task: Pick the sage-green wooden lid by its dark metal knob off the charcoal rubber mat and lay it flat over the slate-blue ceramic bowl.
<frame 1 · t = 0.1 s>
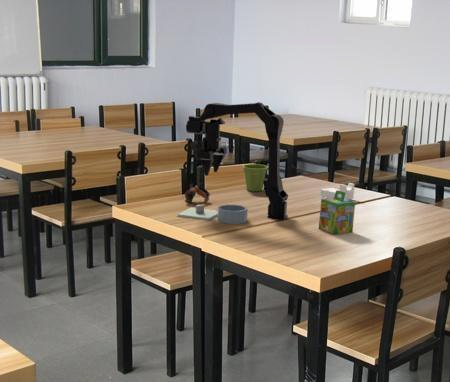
hand: (211, 173, 284), 15 cm above the table, fingers open, 9 cm apart
bowl: (232, 220, 269), on the table
bracket: (336, 199, 317), on the table
mat: (199, 215, 276), on the table
plant pot: (254, 190, 328), on the table
brown arch: (195, 203, 297), on the table
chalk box: (335, 231, 260), on the table
lid: (199, 214, 275), resting on mat
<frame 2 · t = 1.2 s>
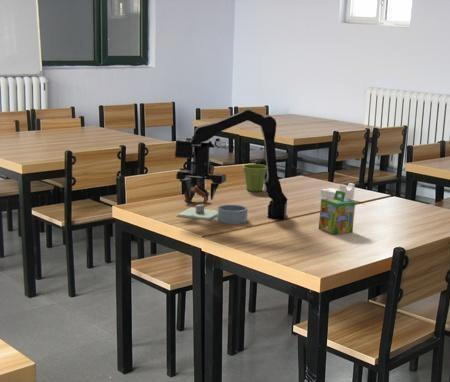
hand: (200, 198, 274), 7 cm above the table, fingers open, 9 cm apart
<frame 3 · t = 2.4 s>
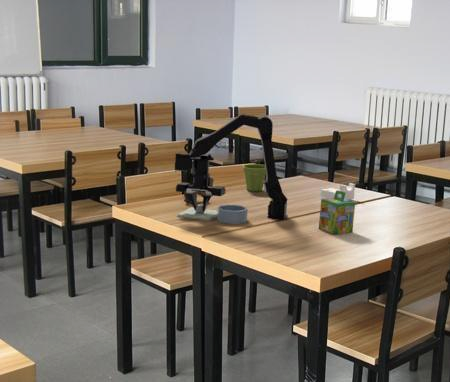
hand: (199, 210, 275), 2 cm above the table, fingers closed on lid, 3 cm apart
lid: (199, 214, 275), resting on mat, touching gripper
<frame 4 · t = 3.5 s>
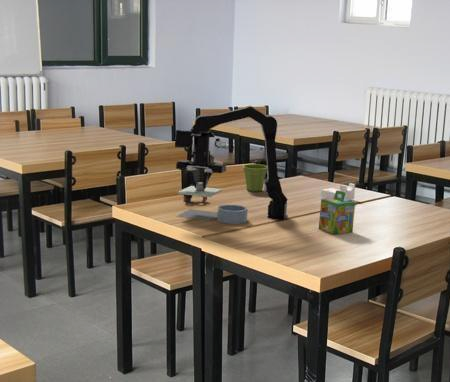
hand: (200, 188, 273), 11 cm above the table, fingers closed on lid, 3 cm apart
lid: (200, 192, 274), point 9 cm above the table, touching gripper
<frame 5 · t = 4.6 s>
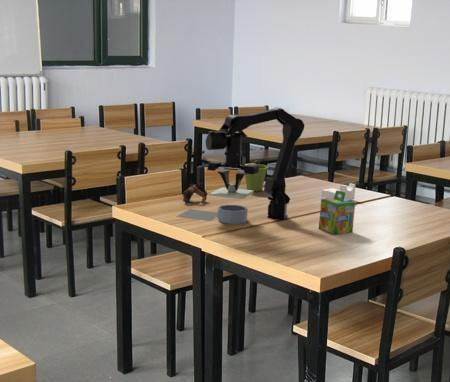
hand: (232, 190, 267), 12 cm above the table, fingers closed on lid, 3 cm apart
lid: (232, 193, 267), point 10 cm above the table, touching gripper
when the fingers open (8 cm above the table, at t = 5.9 s): lid drops 1 cm, resting on bowl.
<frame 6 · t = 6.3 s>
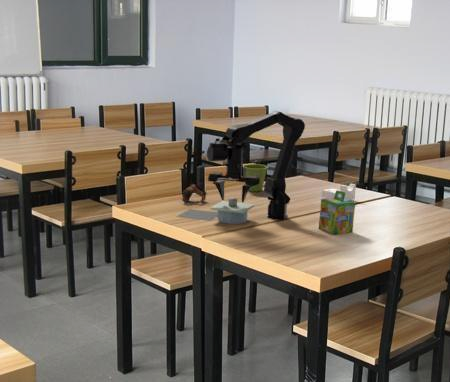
hand: (232, 201, 268), 8 cm above the table, fingers open, 8 cm apart
lid: (232, 207, 268), point 5 cm above the table, touching bowl
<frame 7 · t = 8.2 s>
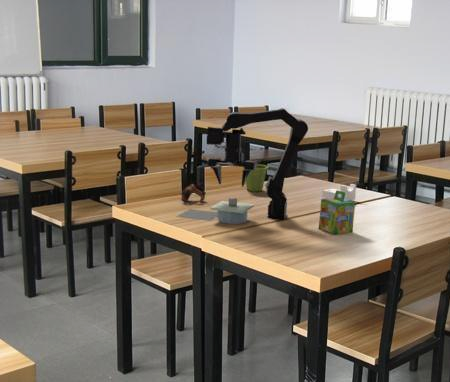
hand: (231, 185, 275), 12 cm above the table, fingers open, 9 cm apart
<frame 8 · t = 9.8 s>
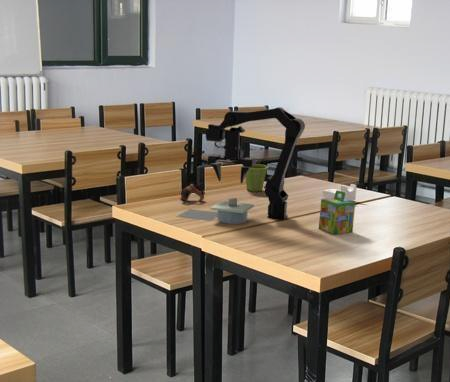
hand: (230, 182, 282), 12 cm above the table, fingers open, 9 cm apart
at the end: lid 0.0 cm from the bowl (horizontally); lid point 5.0 cm above the table; lid tilted 0° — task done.
